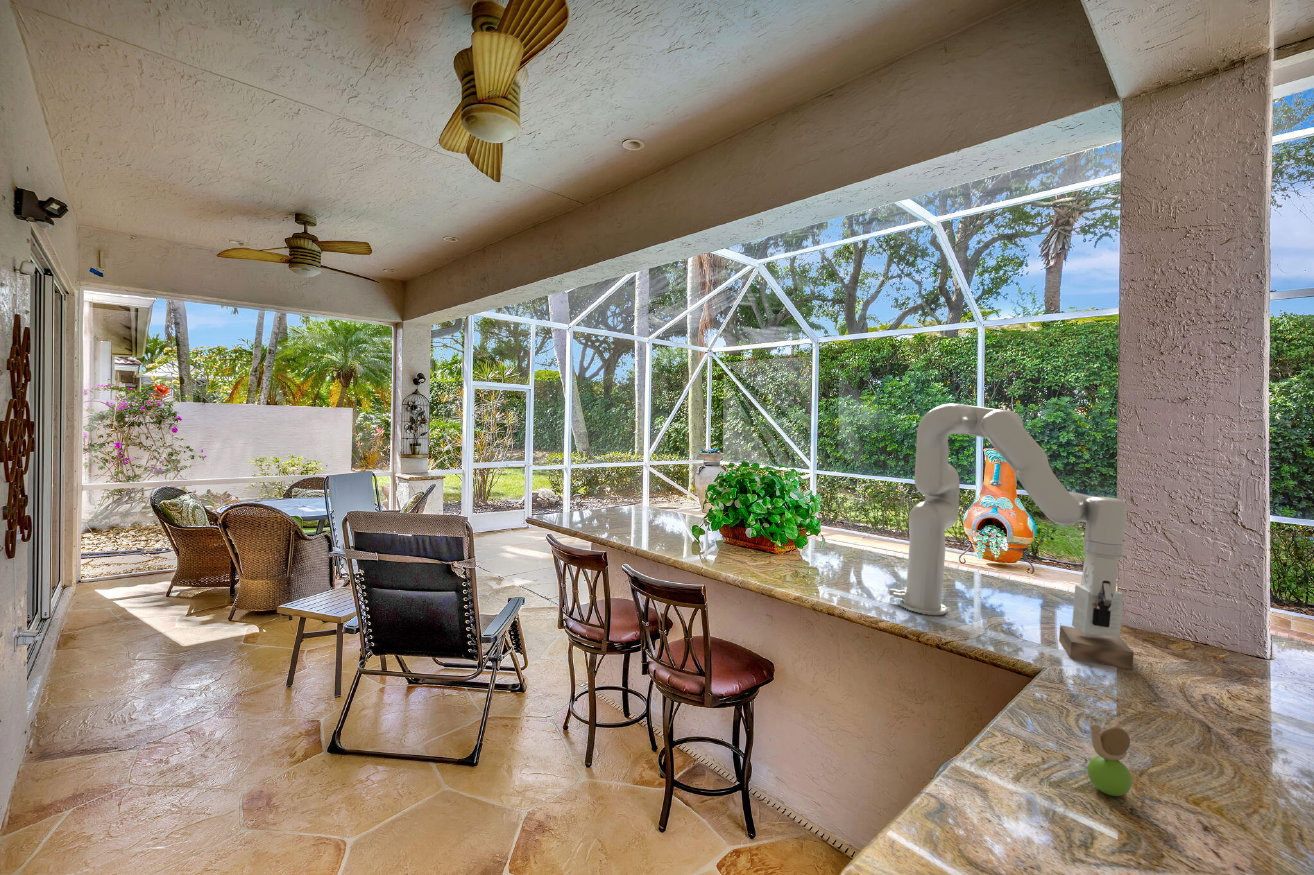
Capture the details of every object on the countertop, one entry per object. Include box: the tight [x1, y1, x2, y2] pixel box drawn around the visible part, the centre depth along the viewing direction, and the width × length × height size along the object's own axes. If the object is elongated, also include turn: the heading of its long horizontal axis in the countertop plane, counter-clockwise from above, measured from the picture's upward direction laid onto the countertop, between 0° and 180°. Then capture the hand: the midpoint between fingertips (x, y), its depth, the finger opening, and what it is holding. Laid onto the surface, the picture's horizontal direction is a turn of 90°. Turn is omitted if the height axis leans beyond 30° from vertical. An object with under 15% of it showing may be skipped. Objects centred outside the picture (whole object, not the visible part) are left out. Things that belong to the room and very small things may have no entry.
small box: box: [1071, 584, 1125, 637], centre depth 143 cm, size 8×6×10 cm
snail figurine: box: [1086, 714, 1133, 797], centre depth 90 cm, size 5×6×12 cm
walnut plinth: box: [1058, 624, 1135, 670], centre depth 144 cm, size 12×12×4 cm
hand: (1096, 620), depth 143 cm, fingers closed on small box, 6 cm apart
